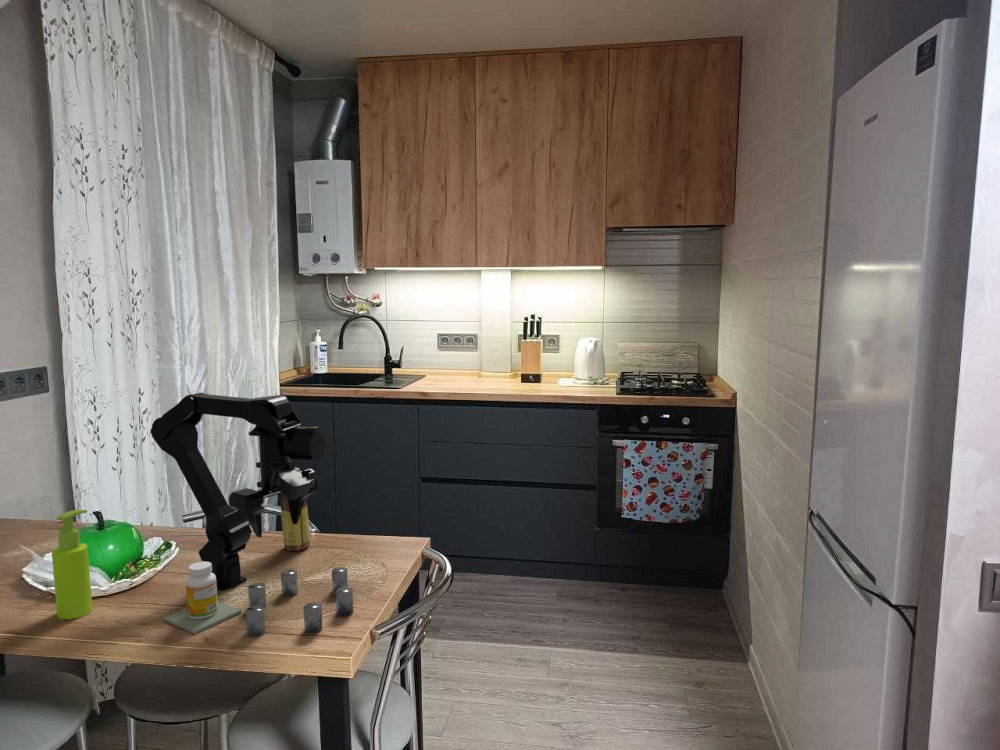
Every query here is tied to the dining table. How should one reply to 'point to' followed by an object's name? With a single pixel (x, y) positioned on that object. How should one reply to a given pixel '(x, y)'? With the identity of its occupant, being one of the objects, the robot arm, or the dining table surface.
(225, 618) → the mat
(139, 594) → the dining table surface
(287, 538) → the sauce bottle
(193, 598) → the supplement bottle
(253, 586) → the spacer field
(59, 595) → the soap dispenser
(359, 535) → the dining table surface
